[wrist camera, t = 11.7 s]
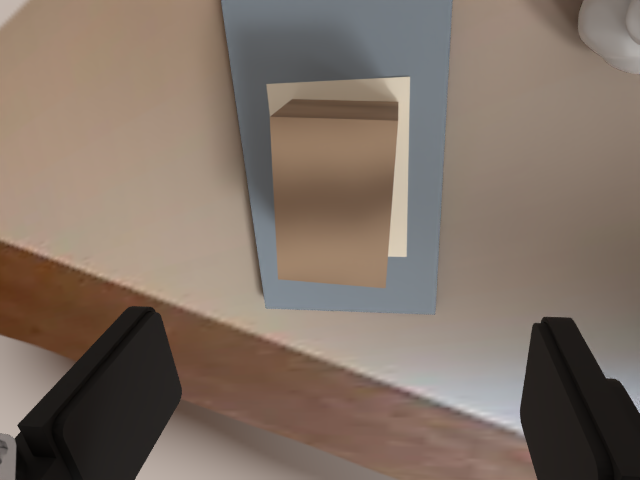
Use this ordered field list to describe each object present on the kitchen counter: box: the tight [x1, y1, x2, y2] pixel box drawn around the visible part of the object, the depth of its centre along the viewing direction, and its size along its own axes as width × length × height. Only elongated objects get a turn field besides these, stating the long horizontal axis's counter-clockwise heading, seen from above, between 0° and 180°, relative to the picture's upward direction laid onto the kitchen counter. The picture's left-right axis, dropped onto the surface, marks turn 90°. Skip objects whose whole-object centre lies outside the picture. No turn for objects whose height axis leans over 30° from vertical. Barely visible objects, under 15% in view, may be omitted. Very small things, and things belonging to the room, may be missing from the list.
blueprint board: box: [221, 0, 452, 315], centre depth 28 cm, size 20×12×1 cm, turn 4°
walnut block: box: [270, 99, 398, 288], centre depth 25 cm, size 9×6×5 cm, turn 0°
